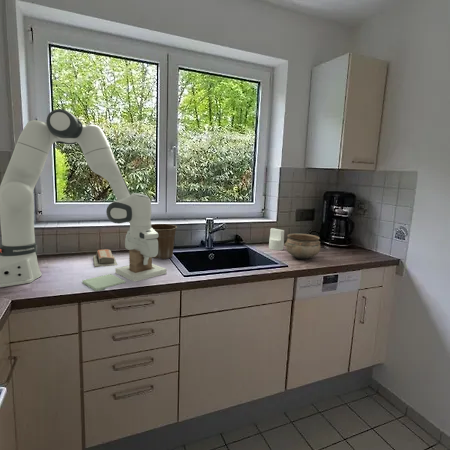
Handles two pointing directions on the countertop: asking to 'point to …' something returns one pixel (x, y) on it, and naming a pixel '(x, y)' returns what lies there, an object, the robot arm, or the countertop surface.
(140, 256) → the walnut block
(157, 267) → the pocket plate
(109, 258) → the packaged product
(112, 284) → the green pad
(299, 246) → the cooking pot
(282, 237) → the base with upright slab
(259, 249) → the countertop surface
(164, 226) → the plant pot
